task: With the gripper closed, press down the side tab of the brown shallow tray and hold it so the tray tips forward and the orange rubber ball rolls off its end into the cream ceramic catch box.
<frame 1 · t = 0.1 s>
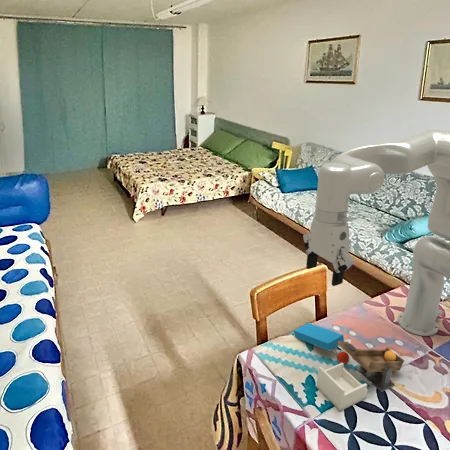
hand: (323, 275, 103), 31 cm above the table, tool pointing down, fingers open, 9 cm apart
stand: (374, 376, 113), on the table
lever 2: (322, 348, 124), on the table
catch box: (340, 392, 107), on the table
ball: (390, 356, 113), point 5 cm above the table, tilted 13°, touching brown shallow tray
brown shallow tray: (369, 354, 113), point 6 cm above the table, hinge at -22.0°, touching ball
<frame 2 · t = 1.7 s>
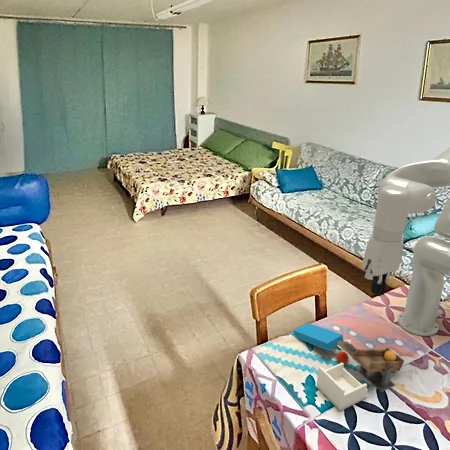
hand: (377, 293, 110), 23 cm above the table, tool pointing down, fingers closed
nothing on the table moved.
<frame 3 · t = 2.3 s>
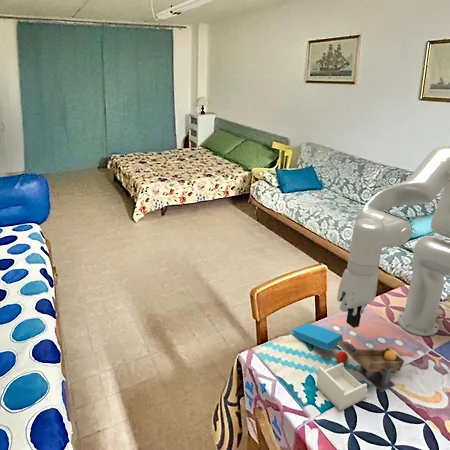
hand: (352, 324, 110), 15 cm above the table, tool pointing down, fingers closed
nothing on the table moved.
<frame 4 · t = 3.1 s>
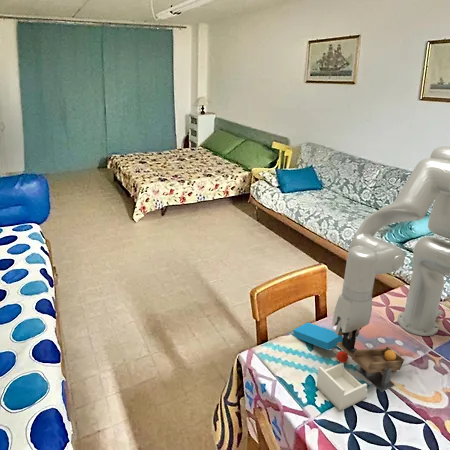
hand: (347, 346, 113), 8 cm above the table, tool pointing down, fingers closed
brown shallow tray: (368, 354, 113), point 6 cm above the table, hinge at -19.3°, touching ball, gripper
everything else where it was.
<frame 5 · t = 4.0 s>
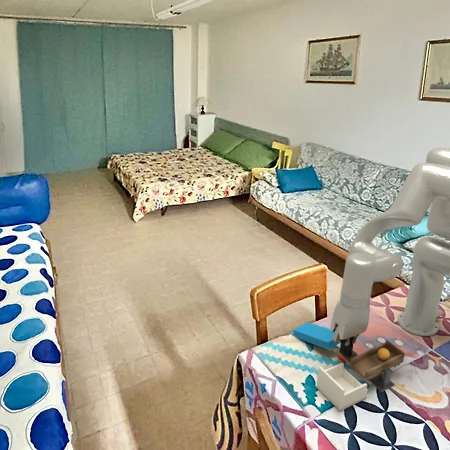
hand: (345, 353, 113), 6 cm above the table, tool pointing down, fingers closed
ball: (383, 354, 111), point 7 cm above the table, tilted 100°, touching brown shallow tray
brown shallow tray: (368, 354, 113), point 6 cm above the table, hinge at 2.2°, touching ball, gripper
everything else where it was.
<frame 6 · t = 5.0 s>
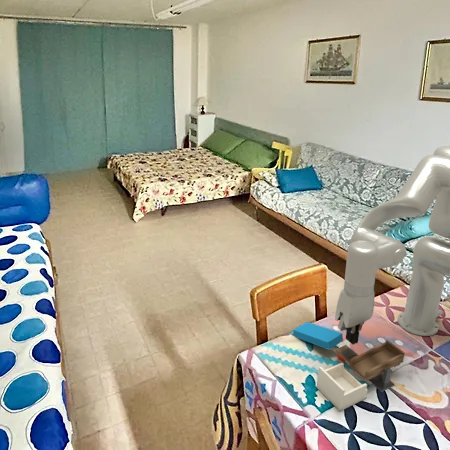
hand: (351, 340, 113), 9 cm above the table, tool pointing down, fingers closed
ball: (335, 389, 106), point 2 cm above the table, tilted 35°, touching catch box
brown shallow tray: (368, 354, 113), point 6 cm above the table, hinge at 2.4°
everything else where it was.
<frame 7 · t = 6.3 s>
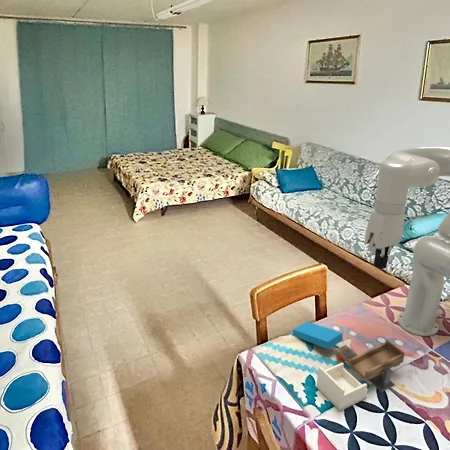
hand: (379, 266, 113), 29 cm above the table, tool pointing down, fingers closed
ball: (336, 389, 106), point 2 cm above the table, tilted 26°, touching catch box
everything else where it was.
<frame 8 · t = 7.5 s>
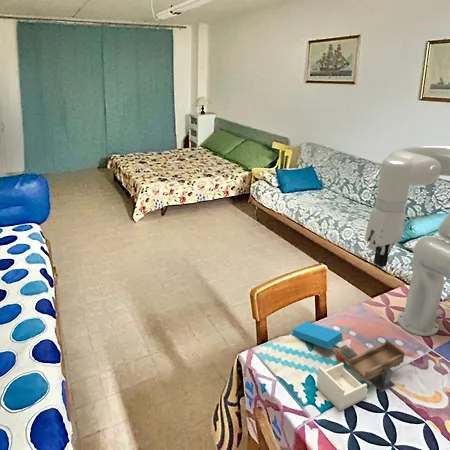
hand: (379, 264, 113), 29 cm above the table, tool pointing down, fingers closed
ball: (336, 388, 106), point 2 cm above the table, tilted 18°, touching catch box
everything else where it was.
at the end: ball inside the target area on the catch box (1.7 cm from its centre), point 2.2 cm above the catch box's base; ball moved 19.3 cm from its start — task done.
